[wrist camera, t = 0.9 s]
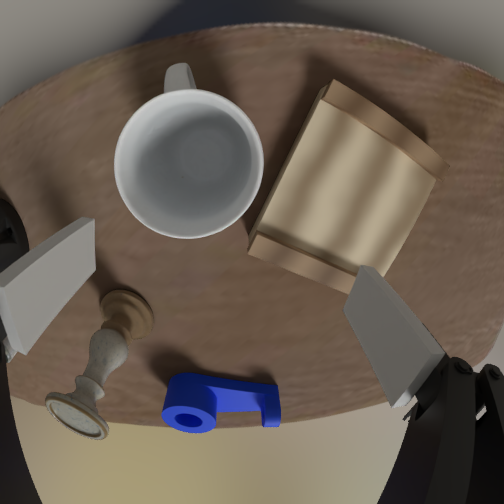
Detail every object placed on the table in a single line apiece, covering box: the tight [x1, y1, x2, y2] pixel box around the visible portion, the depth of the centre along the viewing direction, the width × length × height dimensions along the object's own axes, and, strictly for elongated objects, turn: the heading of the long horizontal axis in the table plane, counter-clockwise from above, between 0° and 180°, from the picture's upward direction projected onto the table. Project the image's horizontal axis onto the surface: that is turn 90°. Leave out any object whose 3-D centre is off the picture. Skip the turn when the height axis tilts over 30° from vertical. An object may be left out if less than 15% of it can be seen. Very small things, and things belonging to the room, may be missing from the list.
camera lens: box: [3, 336, 17, 363], centre depth 36 cm, size 6×6×8 cm
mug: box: [114, 63, 264, 239], centre depth 23 cm, size 15×11×13 cm
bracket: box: [162, 373, 281, 433], centre depth 42 cm, size 20×9×8 cm, turn 84°
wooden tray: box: [247, 79, 450, 294], centre depth 30 cm, size 18×21×4 cm
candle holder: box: [45, 290, 154, 440], centre depth 28 cm, size 9×9×20 cm
